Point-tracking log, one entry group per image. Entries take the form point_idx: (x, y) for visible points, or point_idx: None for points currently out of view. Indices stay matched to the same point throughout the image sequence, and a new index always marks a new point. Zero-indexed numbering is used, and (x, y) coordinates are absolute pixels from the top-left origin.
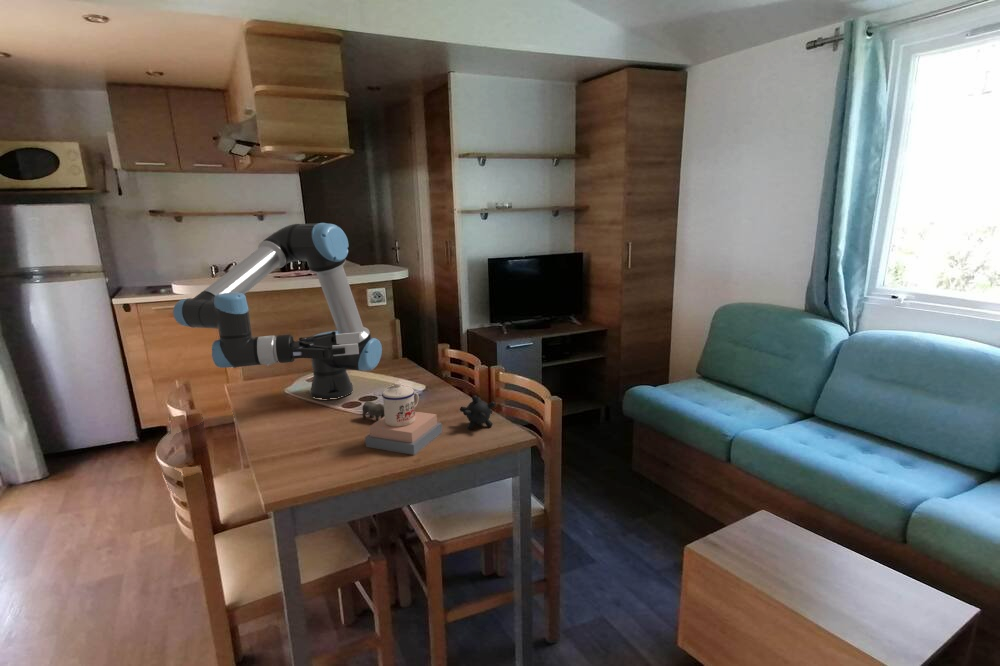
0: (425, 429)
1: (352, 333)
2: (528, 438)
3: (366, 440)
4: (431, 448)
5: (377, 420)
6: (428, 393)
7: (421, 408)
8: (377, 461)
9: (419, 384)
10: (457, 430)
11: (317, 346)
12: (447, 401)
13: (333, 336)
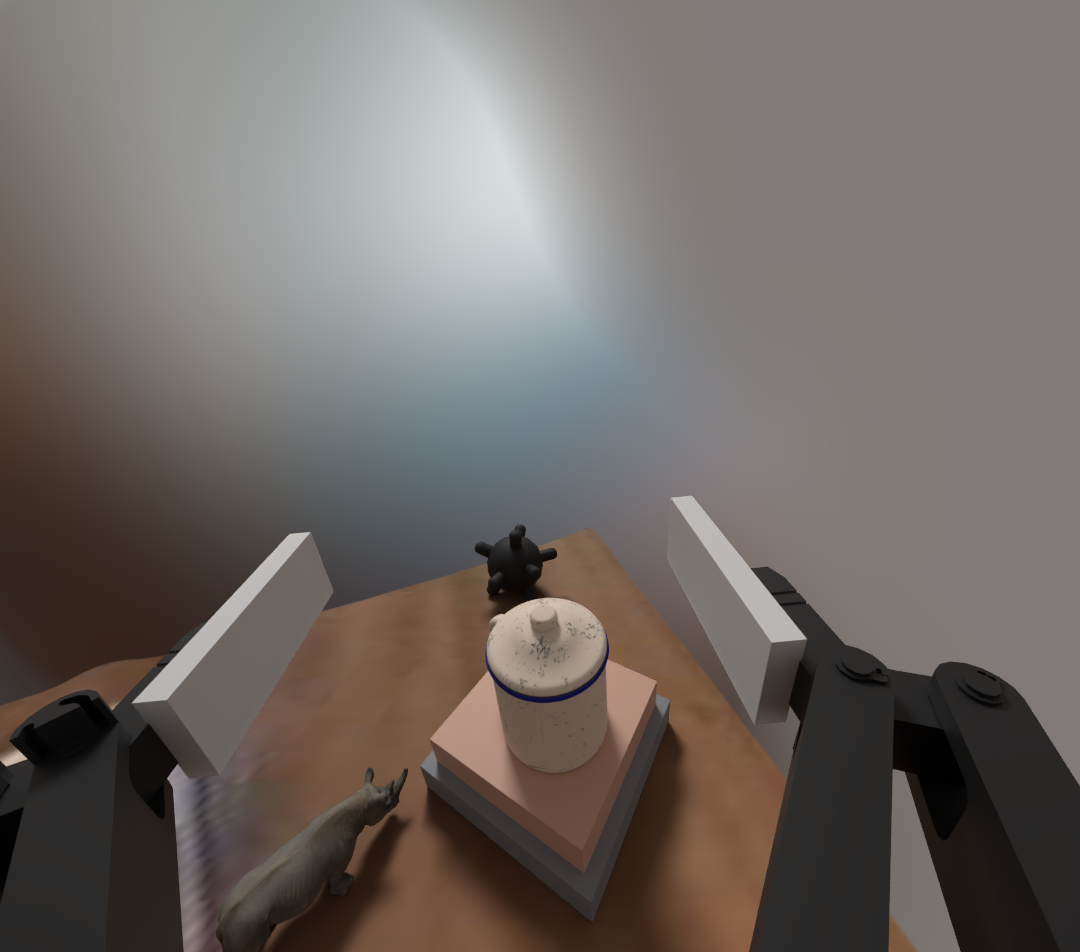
0: None
1: (283, 564)
2: (597, 533)
3: (594, 902)
4: None
5: (346, 876)
6: None
7: (327, 707)
8: (724, 850)
9: None
10: None
11: (863, 896)
12: (328, 641)
13: (126, 753)
